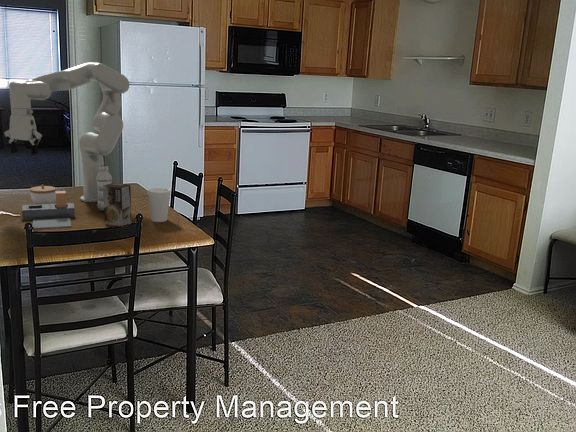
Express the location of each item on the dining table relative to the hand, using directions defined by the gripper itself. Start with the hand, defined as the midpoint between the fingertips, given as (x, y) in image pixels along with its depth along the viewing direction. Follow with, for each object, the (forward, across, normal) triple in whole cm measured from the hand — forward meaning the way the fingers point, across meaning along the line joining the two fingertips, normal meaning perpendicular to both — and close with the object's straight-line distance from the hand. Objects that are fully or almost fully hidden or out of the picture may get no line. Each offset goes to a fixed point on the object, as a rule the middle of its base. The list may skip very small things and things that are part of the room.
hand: (24, 153), depth 240 cm
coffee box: (+25, -45, +4) cm, 51 cm away
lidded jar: (+25, 0, -10) cm, 27 cm away
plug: (+25, -17, +2) cm, 30 cm away
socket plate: (+25, -13, +4) cm, 28 cm away
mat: (+25, -22, +14) cm, 36 cm away
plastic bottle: (+25, -29, -12) cm, 41 cm away
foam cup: (+25, -57, -8) cm, 63 cm away
